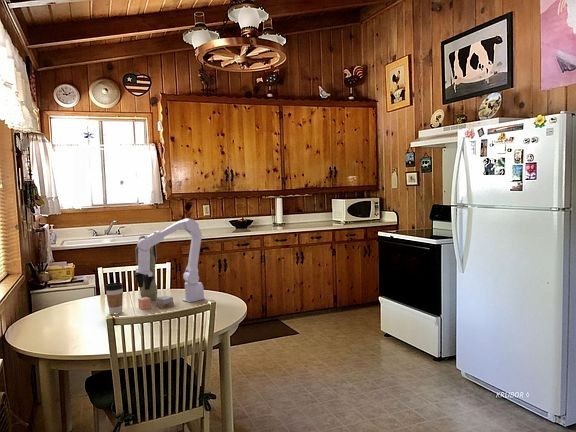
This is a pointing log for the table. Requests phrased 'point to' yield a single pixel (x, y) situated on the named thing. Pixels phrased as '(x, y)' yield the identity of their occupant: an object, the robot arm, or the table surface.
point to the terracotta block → (144, 302)
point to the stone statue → (153, 259)
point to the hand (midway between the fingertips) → (143, 288)
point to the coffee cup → (114, 297)
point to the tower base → (164, 305)
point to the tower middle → (164, 300)
